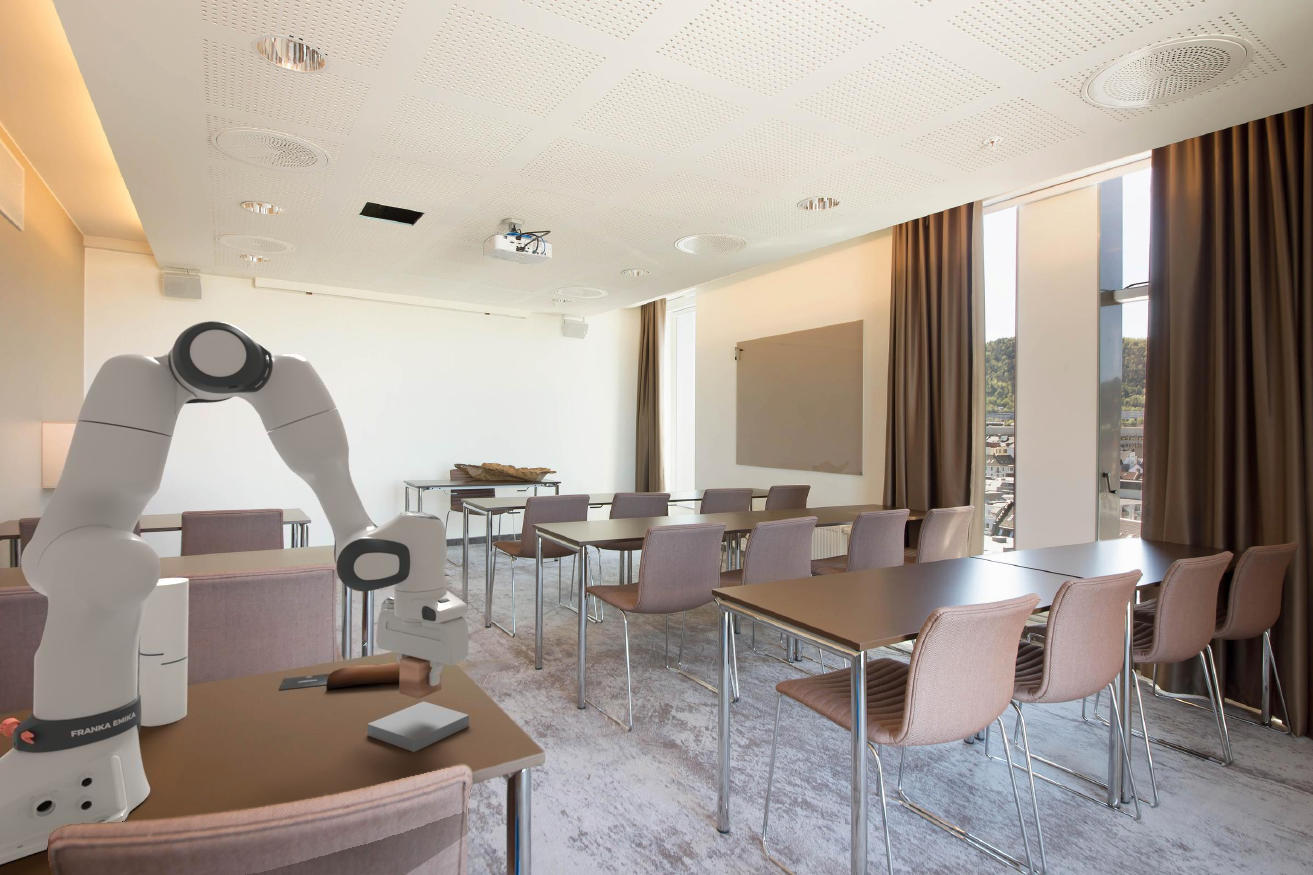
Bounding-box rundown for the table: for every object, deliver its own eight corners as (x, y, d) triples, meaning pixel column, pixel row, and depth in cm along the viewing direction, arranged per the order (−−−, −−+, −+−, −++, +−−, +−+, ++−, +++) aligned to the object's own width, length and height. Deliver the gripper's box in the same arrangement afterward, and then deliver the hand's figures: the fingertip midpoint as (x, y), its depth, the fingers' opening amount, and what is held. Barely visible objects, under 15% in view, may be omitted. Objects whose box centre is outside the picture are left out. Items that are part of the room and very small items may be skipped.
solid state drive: (283, 681, 144) (283, 678, 144) (334, 675, 147) (335, 672, 147) (278, 693, 137) (278, 689, 137) (332, 686, 141) (332, 683, 141)
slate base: (414, 751, 111) (414, 739, 111) (367, 735, 117) (367, 723, 117) (468, 725, 121) (469, 714, 121) (423, 711, 127) (423, 701, 127)
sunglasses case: (422, 669, 150) (421, 648, 146) (419, 696, 144) (418, 674, 141) (334, 676, 145) (331, 654, 142) (327, 703, 139) (324, 681, 136)
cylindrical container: (146, 713, 125) (148, 579, 125) (191, 708, 128) (193, 576, 128) (132, 728, 119) (134, 586, 119) (180, 722, 121) (182, 584, 121)
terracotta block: (418, 698, 116) (418, 664, 116) (399, 693, 118) (399, 659, 118) (441, 689, 120) (441, 656, 120) (422, 684, 123) (422, 651, 123)
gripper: (367, 599, 122) (367, 675, 122) (446, 614, 111) (446, 698, 111) (396, 592, 127) (396, 665, 127) (474, 606, 117) (474, 686, 117)
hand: (420, 680), depth 119 cm, fingers closed on terracotta block, 5 cm apart
